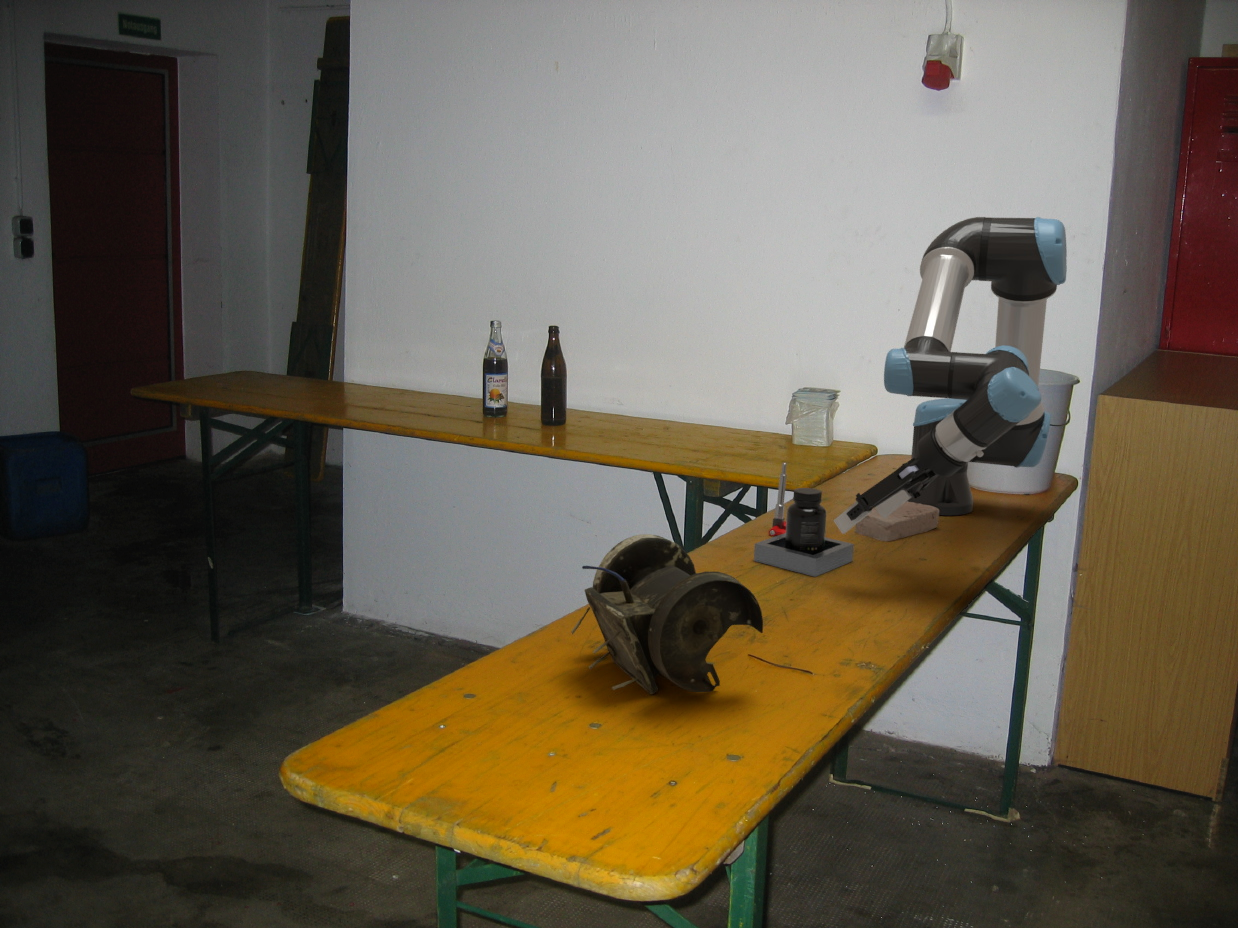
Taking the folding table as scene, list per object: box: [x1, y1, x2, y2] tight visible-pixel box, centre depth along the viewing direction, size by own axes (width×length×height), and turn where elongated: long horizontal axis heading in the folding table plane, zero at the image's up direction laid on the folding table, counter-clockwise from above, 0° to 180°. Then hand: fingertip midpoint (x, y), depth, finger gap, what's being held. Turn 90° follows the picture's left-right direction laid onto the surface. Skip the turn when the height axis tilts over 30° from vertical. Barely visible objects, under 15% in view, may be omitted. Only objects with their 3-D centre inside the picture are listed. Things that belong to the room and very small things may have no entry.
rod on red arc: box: [768, 462, 788, 537], centre depth 207 cm, size 9×14×10 cm
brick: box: [854, 501, 940, 542], centre depth 213 cm, size 17×8×5 cm, turn 129°
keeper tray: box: [753, 533, 855, 577], centre depth 192 cm, size 12×12×3 cm
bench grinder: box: [570, 533, 764, 695], centre depth 140 cm, size 20×22×20 cm
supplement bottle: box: [785, 487, 827, 555], centre depth 191 cm, size 7×7×12 cm
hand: (859, 519), depth 183 cm, fingers open, 13 cm apart
